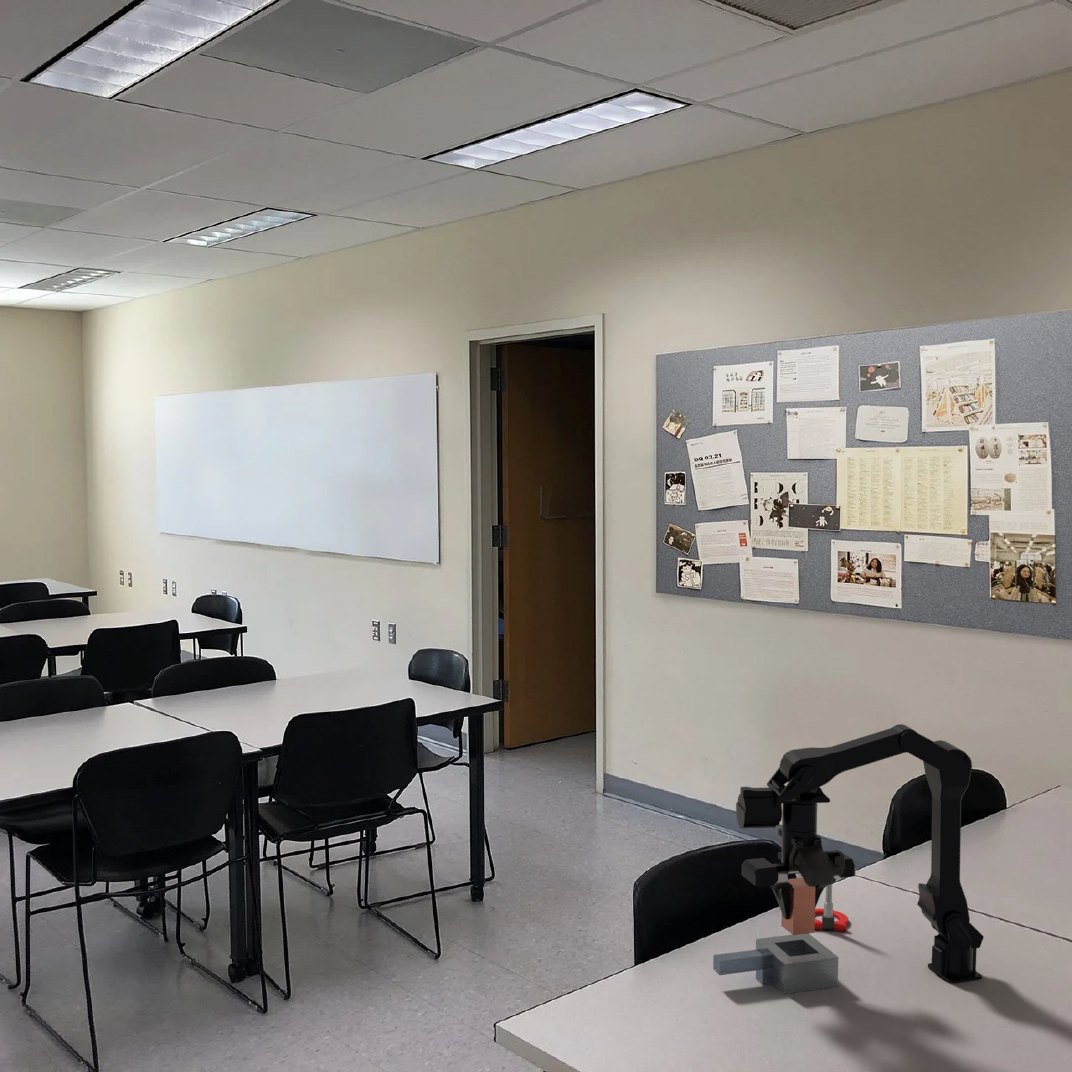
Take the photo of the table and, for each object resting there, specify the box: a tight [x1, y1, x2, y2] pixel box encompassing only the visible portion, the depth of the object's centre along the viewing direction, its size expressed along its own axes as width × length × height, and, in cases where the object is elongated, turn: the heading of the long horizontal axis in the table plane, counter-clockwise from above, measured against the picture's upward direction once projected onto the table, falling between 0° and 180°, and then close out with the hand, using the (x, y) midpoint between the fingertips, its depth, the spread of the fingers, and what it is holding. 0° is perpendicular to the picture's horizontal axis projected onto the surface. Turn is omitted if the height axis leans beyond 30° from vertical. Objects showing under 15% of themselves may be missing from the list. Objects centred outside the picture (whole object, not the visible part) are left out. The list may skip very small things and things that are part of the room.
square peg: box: [780, 877, 816, 935], centre depth 187 cm, size 4×4×8 cm
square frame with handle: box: [712, 933, 839, 994], centre depth 186 cm, size 20×10×5 cm, turn 106°
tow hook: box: [815, 883, 849, 932], centre depth 210 cm, size 8×13×9 cm
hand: (797, 917), depth 187 cm, fingers closed on square peg, 4 cm apart
